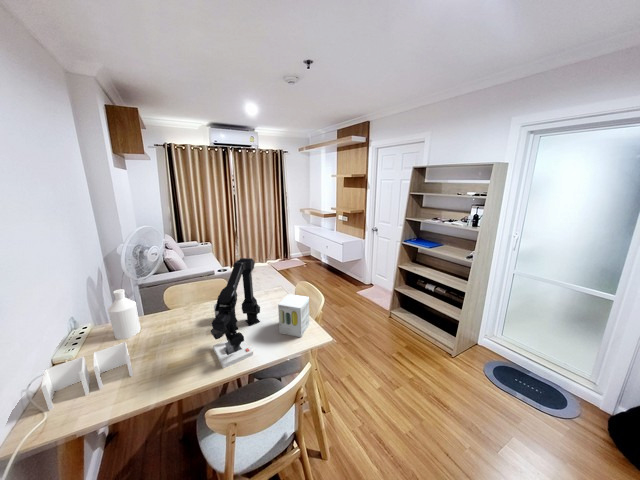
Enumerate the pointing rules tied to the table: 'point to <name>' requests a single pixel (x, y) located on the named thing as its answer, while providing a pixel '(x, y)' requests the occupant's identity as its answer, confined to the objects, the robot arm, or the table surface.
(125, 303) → the bottle
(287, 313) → the supplement box
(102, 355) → the white u-channel brackets
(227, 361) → the socket plate
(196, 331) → the table surface
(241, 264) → the robot arm
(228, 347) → the plug
